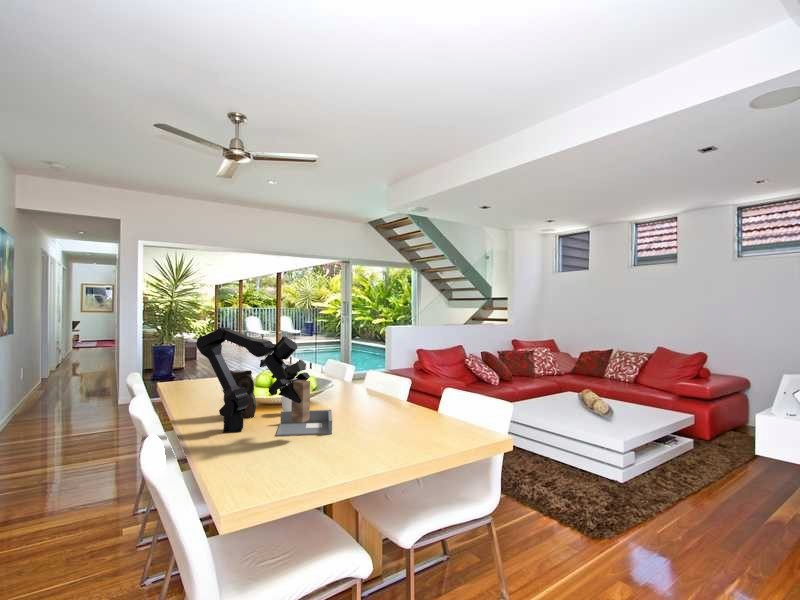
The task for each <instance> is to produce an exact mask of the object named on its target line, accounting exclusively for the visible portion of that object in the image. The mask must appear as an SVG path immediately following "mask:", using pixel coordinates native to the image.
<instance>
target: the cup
mask: <svg viewBox="0 0 800 600" xmlns="http://www.w3.org/2000/svg"><path fill="white" fill-rule="evenodd" d="M280 399H281V407H282V411H291V405H292V400H291V399H288V398H286V397H284V396H281V395H280Z"/></svg>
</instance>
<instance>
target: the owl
mask: <svg viewBox="0 0 800 600" xmlns="http://www.w3.org/2000/svg"><path fill="white" fill-rule="evenodd" d="M229 370H230V369H229ZM230 372H231V374H232V376H233V378H234V380H235V382H236V384H237V386H238V387H240V388H242V387H245V389H246V392H247V394H248V395H249V401H250V402H249V405H248V406H247V408H246V411H245V412H242V416H243V417H244V418H247V419H251V418H250V417H254V416H255V415H256V410H257V401H256V395H255V393H254V392H255V381H254V379H253V378H254V376H253V375H252V373H253V372H252V370H249V369H248V370H243V369H242V370H240V369H239V370H238V369H237V370H236V369H234V370H230ZM222 391H223V394H224V390H223V389H222ZM254 418H255V417H254Z"/></svg>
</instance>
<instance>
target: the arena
mask: <svg viewBox="0 0 800 600" xmlns="http://www.w3.org/2000/svg"><path fill="white" fill-rule="evenodd" d="M312 434H321V435H332V434H333V414H332V409H312V410H311V409H310V414H309V420H308V421H306V422H304V423H297V422H291V411H283V410H281V411H280V423H279V426H278V429H277V431H276V434H275V436H276V437H289V436H290V435H296V436H313V435H312ZM290 437H291V436H290Z"/></svg>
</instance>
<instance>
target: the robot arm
mask: <svg viewBox="0 0 800 600" xmlns="http://www.w3.org/2000/svg"><path fill="white" fill-rule="evenodd" d="M226 341H227V342H230V343H232V344H234V345H237V346H240V347H242V348H244V349H246V350H247V351H248V353H250V354H251V355H252V356H254V357H256V358H262V357H265V358H264V359H260V363H259V368H264V367H266V368H267V369H268V370H269V372H270V373H271V375H270V376H271V378H272V379H276V380H274V382H272V384H271V385H270V386H269V387H268V393H269V394H270V395H271V397H272V396H275V395H277V394H278V396H280V397H281V396H284V397H286V398H288V399H291V400H293V401H295V402H297V403H301V400H300V398H299V396H298V395H297V393H296V392H295V390H294V388H293V382H294V381H298V380H304V381H308V379H309V378H311V376H310V374H309V373H308V372H306V371H305V370H307V369H306V367H307V363H306V362H305V361H304V360H303V359H300V360H297V361H296V362H295V363H293V364H290V363H288V364H287V363H285V361H286V360H288V359H289V358H291V356H292V355H293V354H294V353H295V352H296V351H297V349H298V345H297V343H296V342H295V341H294V340H292V339H291V338H288V337H287V336H281V338H280V339H279V340H278V342H277V343H276V344H275V343H273V342H272V340H268V339H261V338H254V337H251V336H248V335H246V334H243V333H241V332H239V331H236V330H234V329H231V327H230V328H229V327H219V328H218V329H216V330H214V331H211V332H209V333H207V334H204V335H200V336H199V337H198V338H197V339H196V342H195V346H196V348H197V350H198V351H199V353H200V354H201V355H202V356H204V357H205V358H207V359H208V361H209V363H210V365H211V367H212V370H213V371H214V373H215V375H216V378H217V379H218V381H219V384H220V386H221V388H222V391H223V390H224V393H223V402H224V403H223V404H224V405H222V407H221V408H220V409H218V411H219V416H220V417H223V429H222V433H223V434H224V433H225V434H226V433H227V434H229V433H237V432H239V433H240V432H242V430H243V429H244V419H243V418H244V417H243V416H242V412H245V411H246V408H247V406H248V405H249V402H250V401H249V395H248V394H247V392H246V389H245V387H242V388H240V387H238V386H237V384H236V382H235V380H234V378H233V376H232V374H231V372H230V369H229V368H230V367H229V366H228V365H227V362H226V360H225V358H224V357H223V354H222V348H223V347H222V346H223V345H222V344H223V343H224V342H226ZM284 360H285V361H284ZM302 371H305V372H302ZM300 372H301V373H300ZM278 390H279V393H278Z"/></svg>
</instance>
